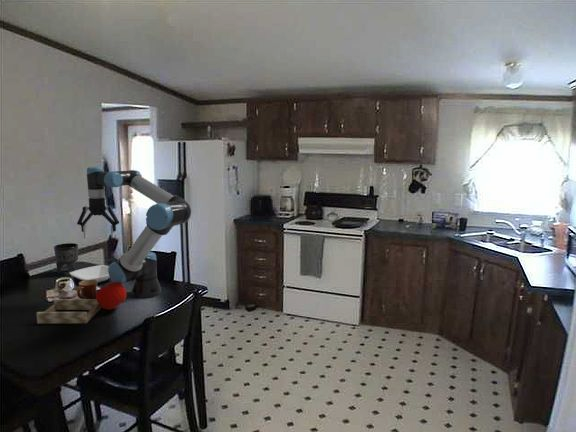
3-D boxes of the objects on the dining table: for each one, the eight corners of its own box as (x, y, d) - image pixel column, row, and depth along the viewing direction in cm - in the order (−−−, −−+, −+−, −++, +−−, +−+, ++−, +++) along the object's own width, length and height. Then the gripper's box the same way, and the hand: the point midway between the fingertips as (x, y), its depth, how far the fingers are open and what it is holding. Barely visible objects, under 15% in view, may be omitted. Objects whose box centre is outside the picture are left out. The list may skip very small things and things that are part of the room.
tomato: (119, 304, 189) (104, 284, 188) (100, 317, 193) (85, 298, 192) (136, 292, 201) (122, 273, 200) (118, 305, 206) (104, 286, 205)
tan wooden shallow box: (100, 308, 199) (100, 299, 198) (86, 323, 182) (85, 312, 182) (55, 308, 197) (54, 299, 196) (37, 323, 181) (36, 313, 180)
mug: (87, 297, 212) (86, 278, 211) (102, 299, 211) (101, 280, 209) (71, 306, 201) (69, 286, 199) (86, 308, 199) (85, 288, 197)
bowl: (102, 272, 253) (102, 263, 252) (124, 280, 240) (123, 271, 239) (66, 281, 235) (65, 272, 234) (87, 290, 222) (86, 280, 221)
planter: (83, 273, 250) (81, 245, 247) (60, 278, 241) (58, 249, 238) (75, 268, 259) (73, 242, 256) (53, 273, 250) (50, 245, 247)
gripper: (124, 196, 212) (126, 235, 215) (74, 196, 209) (77, 236, 213) (119, 198, 204) (122, 239, 208) (67, 198, 202) (71, 239, 205)
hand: (99, 237), depth 210 cm, fingers open, 13 cm apart
